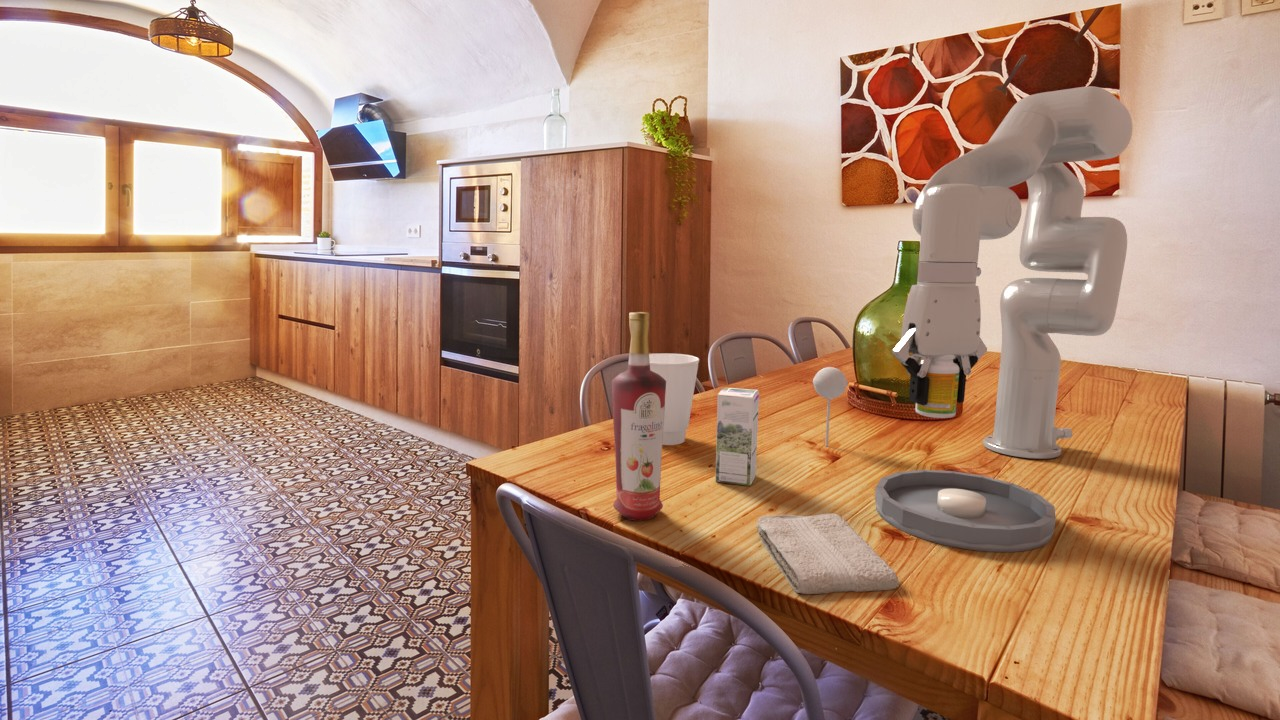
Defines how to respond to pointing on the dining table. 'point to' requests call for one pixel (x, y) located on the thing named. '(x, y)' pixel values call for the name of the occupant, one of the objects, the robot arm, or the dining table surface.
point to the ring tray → (965, 510)
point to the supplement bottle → (941, 388)
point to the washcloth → (823, 555)
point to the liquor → (638, 428)
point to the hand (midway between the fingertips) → (936, 400)
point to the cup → (676, 392)
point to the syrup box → (737, 435)
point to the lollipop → (829, 387)
